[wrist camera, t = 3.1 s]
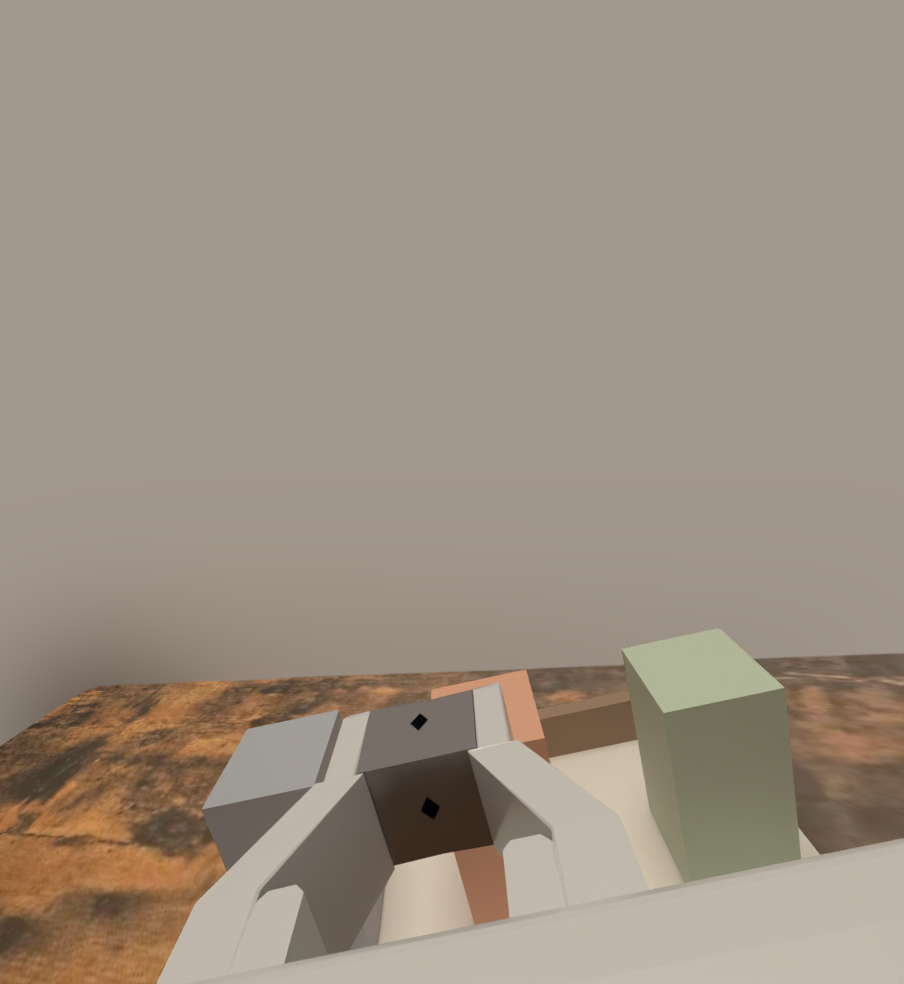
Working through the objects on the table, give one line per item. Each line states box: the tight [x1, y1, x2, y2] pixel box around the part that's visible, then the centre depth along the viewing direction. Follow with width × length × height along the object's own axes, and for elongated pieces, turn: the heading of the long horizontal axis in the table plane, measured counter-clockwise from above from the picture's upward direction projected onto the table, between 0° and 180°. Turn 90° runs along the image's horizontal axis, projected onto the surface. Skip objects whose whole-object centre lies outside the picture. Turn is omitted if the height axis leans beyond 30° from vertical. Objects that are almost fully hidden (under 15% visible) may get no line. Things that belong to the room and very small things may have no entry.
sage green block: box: [622, 628, 801, 883], centre depth 24 cm, size 5×5×10 cm
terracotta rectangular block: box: [431, 670, 550, 925], centre depth 24 cm, size 5×5×10 cm
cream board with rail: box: [377, 690, 820, 945], centre depth 26 cm, size 28×19×4 cm
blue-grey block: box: [201, 710, 384, 950], centre depth 25 cm, size 5×5×10 cm
